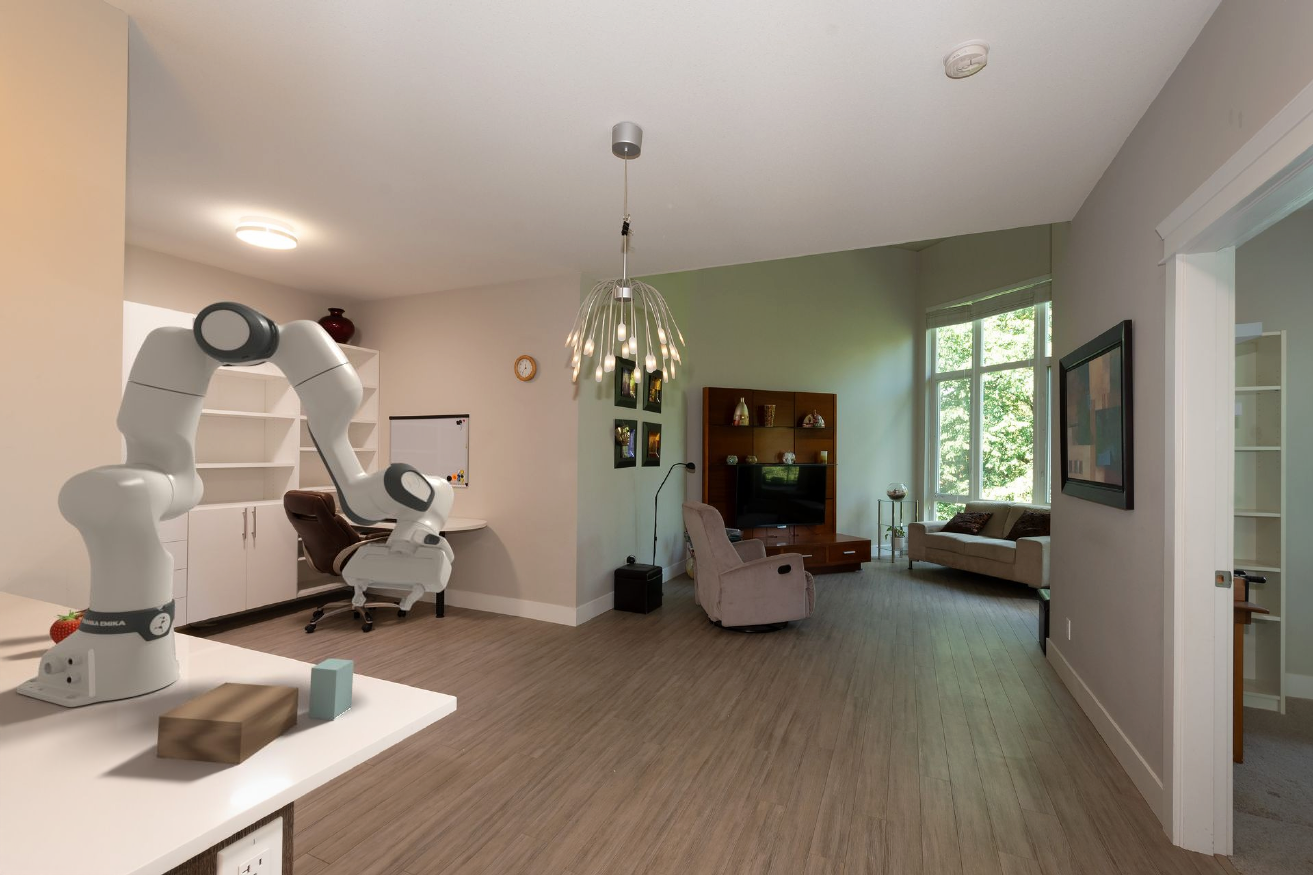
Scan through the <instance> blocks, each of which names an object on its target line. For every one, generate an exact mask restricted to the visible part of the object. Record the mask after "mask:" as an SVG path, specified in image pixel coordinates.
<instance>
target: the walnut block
mask: <svg viewBox="0 0 1313 875" xmlns="http://www.w3.org/2000/svg"><path fill="white" fill-rule="evenodd" d="M299 690H300V688H299V687H295V686H294V687H293V686H279V685H268V684H267V685H266V684H253V683H252V684H251V683H239V682H237V683H236V682H224V683H222V684H220V685H218V686H216V687H214V688H212V689H210V690H209V691H207V692H204V693H202V694H200V695H199V696H196V697H194V698H192V699H191V700H188V701H187V702H185V703H183V704H181V705H179V706H177V707H175V708H173V709H171V710H168V711H167V712H165V713H163V714H161V715H160V716H158V729H157V747H156V748H157V749H156V758H157V757H158V758H157V759H165V758H169V759H168V760H177V761H178V760H180V761H181V760H182V761H194V762H204V763H205V762H206V763H219V764H229V765H241V764H243V763H244V762H246V761H247V760H248V759H250V758H251V757H252V756H255V754H257V753H258V752H260V751H261V750H262V749H264V748H265V747H266V746H268V745H269V744H271V743H272V742H273V741H276V740H277V739H278V738H279V737H281V736H282V735H284V734H285V733H287V732H288V731H290V730H291V729H292V728H294V727H295V726H297V724H298V709H299V708H298V707H299V692H300V691H299Z"/></svg>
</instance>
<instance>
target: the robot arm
mask: <svg viewBox="0 0 1313 875" xmlns="http://www.w3.org/2000/svg"><path fill="white" fill-rule="evenodd" d="M140 346H141V347H140V348H139V350H138V352H137V354H136V357H135V359H134V361H133V364H132V366H131V369H130V372H129V375H128V378H127V382H126V385H125V389H124V393H123V396H122V399H121V403H120V406H119V410H118V413H117V417H116V426H117V429H118V430H119V432H120V433H121V434H122V435H123V436H124V440H125V446H126V460H125V463H123V464H122V463H121V464H120V463H119V464H107V465H105V464H104V465H100V466H98V467H94V468H92V469H91V468H90V469H87V470H85V471H82V472H79V473H76V474H75V475H73V476H71V477H70V478H69V479H67V480H66V481H65V483H64V484H63V485H62V487H61V488H60V491H59V492H58V495H57V505H58V510H59V512H60V515H61V516H62V518H64V520H65V521H66V522H68V523H69V524H70V525H72V526H73V527H74V528H76V529H77V531H78V532H79V533H80V535H81V538H82V540H83V542H84V545H85V547H86V550H87V554H88V558H89V564H90V565H89V566H90V581H89V582H90V583H89V584H90V585H89V586H90V588H89V603H88V604H89V606H88V607H87V608H85V609H80V610H78V611H74V614H79V613H81V612H83V613H82V614H80V615H78V616H76V617H74V618H80V617H82V620H81V622H80V624H79V626H78V630H76V631H75V632H74V633H72V634H71V635H69V636H68V637H67V638H65V639H64V640H62V641H61V642H59V643H58V644H56V643H55V645H53V646H52V647H51V648H49V649H48V650H46V651H45V652H44V653H43V654H42V656H41V659H40V661H39V666H38V671H37V672H38V673H37V676H34V677H33V678H30V679H28V680H26V681H24V682H22V683H21V684H19V685H18V686H17V688H16V691H15V692H16V693H17V694H20V695H24V696H27V697H31V698H34V699H38V700H42V701H44V702H50V703H53V704H57V705H60V706H64V707H69V708H74V707H81V706H86V705H89V704H93V703H99V702H107V701H114V700H120V699H121V700H122V699H126V698H130V697H136V696H140V695H145V694H148V693H152V692H154V691H157V690H160V689H162V688H165V687H167V686H169V685H171V684H173V683H174V682H176V681H177V680H178V679H179V678H180V672H179V667H180V661H179V660H177V655H176V654H177V653H176V642H175V629H174V625H173V622H174V620H175V617H176V616H175V614H176V609H177V608H176V600H175V599H174V598H173V592H174V573H175V558H174V555H173V554H172V553H171V552H170V551H169V550H167V549H166V548H165V546H164V543H163V541H162V539H161V538H162V537H161V535H160V530H159V522H165V521H169V520H174V519H176V518H179V517H180V516H182V515H184V514H186V513H188V512H190V511H191V510H193V509H194V508H196V507H197V505H198V504H199V503H200V502H201V500H202V498H203V496H204V490H205V489H204V483H203V480H202V478H201V476H200V475H199V473H198V472H197V466H196V437H197V430H198V426H199V424H200V419H201V414H202V412H203V407H204V405H205V404H204V403H205V399H206V396H207V393H208V389H209V384H210V381H211V379H212V377H213V374H214V373H215V371H216V370H217V369H219V368H220V367H227V368H229V367H255V366H260V365H263V364H266V363H271V364H272V365H274V366H276V367H277V368H278V369H279V370H280V371H281V372H282V373H283V375H284V376H285V378H286V380H287V381H288V382H289V384H290V385H291V387H292V389H293V390H294V391H295V394H296V395H297V396H298V399H299V401H300V402H301V405H302V407H303V410H304V413H305V415H306V416H305V417H306V424H307V425H306V426H307V431H308V432H309V435H310V436H309V437H310V438H311V440H312V442H313V445H314V447H315V450H316V451H317V452H318V454H319V457H320V459H321V461H322V463H323V464H324V467H325V468H326V471H327V473H328V475H329V477H330V479H331V480H332V482H333V485H334V487H335V490H336V494H337V497H338V501H339V505H340V508H341V511H342V512H343V514H344V516H345V517H346V518H347V519H348V520H349V521H350V522H352V523H354V524H356V525H358V526H361V527H371V526H374V525H376V524H379V523H381V522H382V521H384V520H386V519H388V518H390V517H391V516H393V517H395V519H396V524H395V526H394V528H393V530H392V532H391V533H390V535H389V536H388V538H387V540H386V543H385V542H384V543H383V542H380V543H378V542H377V543H376V542H368V543H367V544H363V545H361V546H359V548H357V550H356V552H355V553H354V554H353V555H352V556H351V557H350V559H349V560H348V561H347V564H346V565H345V566H344V568H343V569H342V571H341V575H342V578H343V580H344V581H345V582H346V583H347V584H348V586H352V587H354V596H353V597H352V599H351V603H352V605H353V606H354V607H363V606H364V603H365V602H366V601H367V598H366V597H365V595H364V594H363V592H365V591H367V589H368V588H375V589H376V588H377V589H386V590H387V589H390V590H399V591H400V590H402V591H412V592H411V593H410V594H408V596H407V597H405V596H404V597H402V598H401V601H400V603H399V605H398V606H399V608H400V610H402V611H410V610H411V608H412V606H413V604H414V603H416V602H417V601H418V600H419V599H421V598H422V597H423V595H424V594H425V592H427V593H428V592H429V593H441V592H442V591H444V589H446V588H447V585H448V582H449V580H450V576H451V573H452V563H453V562H454V559H455V554H454V552H453V549H452V548H451V545H450V543H449V542H448V541H447V539H446V537H443V536H441V535H439V534H440V532H441V531H442V529H443V528H445V526H446V524H447V521H448V518H449V516H450V514H451V511H452V508H453V505H454V502H455V500H454V499H455V492H454V487H452V485H451V484H450V482H448V481H447V480H446V479H444V478H443V477H441V476H439V475H428V474H423V473H421V472H420V471H419V470H417V469H416V468H415V467H413V466H412V465H410V464H407V463H405V462H404V463H403V462H395V463H392V464H390V465H388V466H386V467H384V468H381V469H379V470H376V471H375V472H372V473H371V474H367V472H366V471H365V470H364V469H363V467H362V464H361V463H360V461H359V458H358V457H357V454H356V453H355V450H354V448H353V446H352V444H351V442H350V440H349V432H348V431H349V427H350V424H351V422H352V419H353V418H354V416H355V414H356V413H357V411H358V410H359V408H360V406H361V404H362V402H363V396H364V388H363V385H362V384H363V383H362V381H361V380H360V376H359V375H358V374H357V371H356V370H355V368H354V367H353V365H352V363H351V362H350V361H349V359H348V357H347V356H346V354H345V353H344V352H343V350H342V349H341V347H340V346H339V345H338V344H337V342H336V341H335V339H333V337H332V336H331V335H330V334H329V333H328V331H326V329H324V328H323V326H322V325H321V324H319V323H317V322H316V321H314V320H309V319H299V320H297V319H296V320H293V321H290V322H287V323H284V324H278V323H277V322H276V321H274V320H272V319H271V318H269V317H268V316H266V315H265V314H264V313H262V312H261V311H259V310H257V309H256V308H254V307H251V306H248V305H245V304H243V303H241V302H235V301H220V302H215V303H212V304H209V305H207V306H205V307H204V308H203V309H202V310H201V311H199V313H197V315H196V317H195V318H194V321H193V326H192V329H191V328H185V327H181V326H162V327H156V328H154V329H153V330H151V331H150V332H149V333H148V334H147V336H146V337H145V339H144V341H143V342H142V344H141V345H140Z"/></svg>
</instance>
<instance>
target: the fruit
mask: <svg viewBox="0 0 1313 875" xmlns="http://www.w3.org/2000/svg"><path fill="white" fill-rule="evenodd" d="M71 611H72V610H71V609H69V613H68V615H61V614H56V616H53V617H55V618H58V619H57V620H55V621H54V622H53V624H52V625H50V628H49V636H50V637H49V638H51V640H52V641H53V642H54V644H55V645H56V644H58V643H59V642H61V641H62V640H64V639H65V638H67V637H68V636H69V635H71V634H72V633H74V632H75V631H76V630H78V626H79V624H80V622H81V620H82V617H80V618H74V617H76V616H78V615H80V614H82V613H83V612H81V613H75V611H72V612H71Z"/></svg>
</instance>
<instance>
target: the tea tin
mask: <svg viewBox="0 0 1313 875" xmlns="http://www.w3.org/2000/svg"><path fill="white" fill-rule="evenodd" d="M354 666H355V665H354V660H350V659H342V658H340V659H339V658H330V657H329V658H327V659H325V660H323V661H321V662H320V663H318V664H316V665H313V666H312V667H311V669H310V670H311V671H310V685H309V686H310V688H309V689H310V690H309V705H308V706H309V708H308V718H309V717H313V718H312V719H318V718H324V719H323V720H327V719H335V718H336V717H337V716H339V715H340V714H342V713H343V712H345V711H346V710H348V709H349V708H351V709H352V703H353V702H352V701H353V700H352V698H353V697H352V696H353V682H354V681H353V680H354ZM348 711H349V710H348ZM345 713H346V712H345ZM342 715H343V714H342ZM335 720H336V719H335Z"/></svg>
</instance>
